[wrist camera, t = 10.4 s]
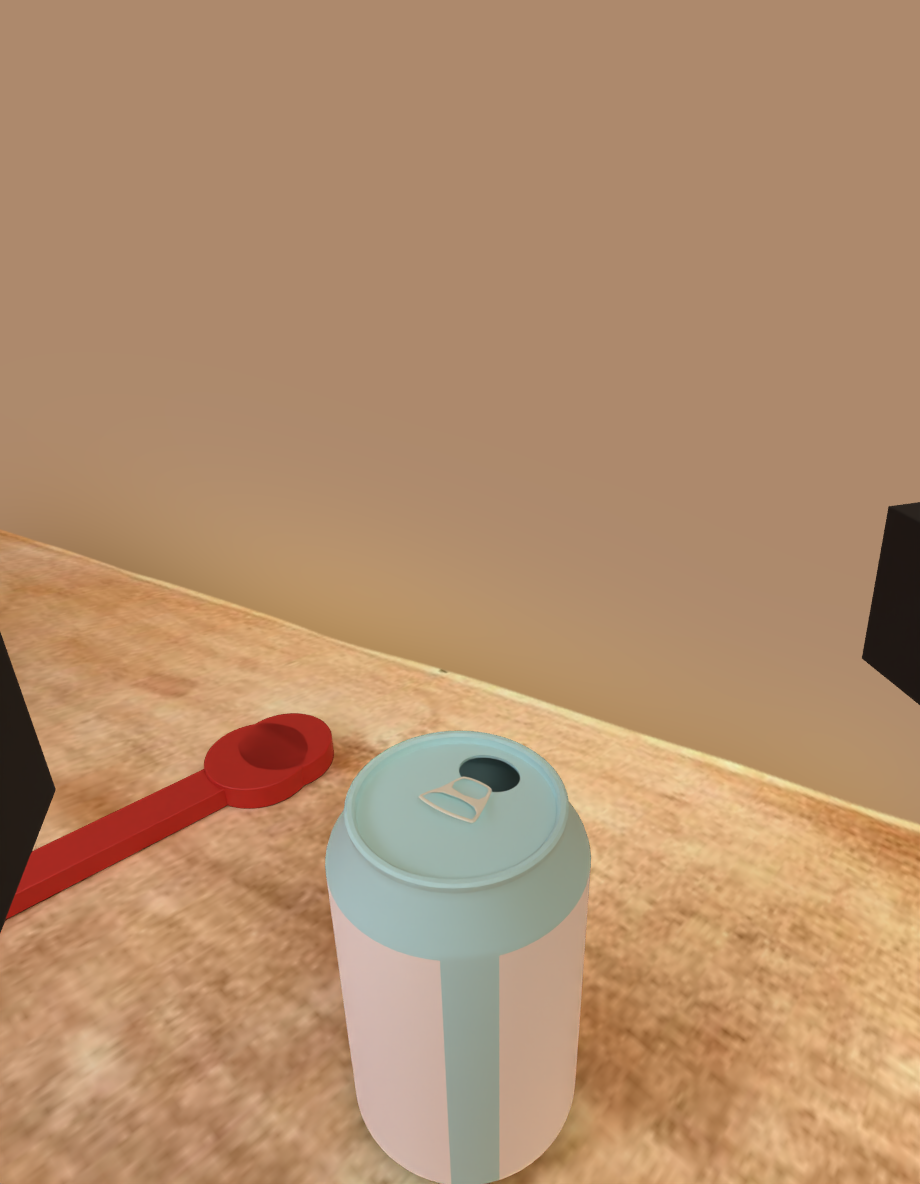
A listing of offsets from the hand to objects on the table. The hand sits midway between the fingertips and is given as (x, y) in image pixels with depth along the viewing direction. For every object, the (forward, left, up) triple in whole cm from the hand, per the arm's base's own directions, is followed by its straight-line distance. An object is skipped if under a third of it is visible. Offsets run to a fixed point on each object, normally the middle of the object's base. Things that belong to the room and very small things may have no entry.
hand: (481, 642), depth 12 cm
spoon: (0, +23, -20) cm, 30 cm away
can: (+3, +5, -20) cm, 21 cm away
